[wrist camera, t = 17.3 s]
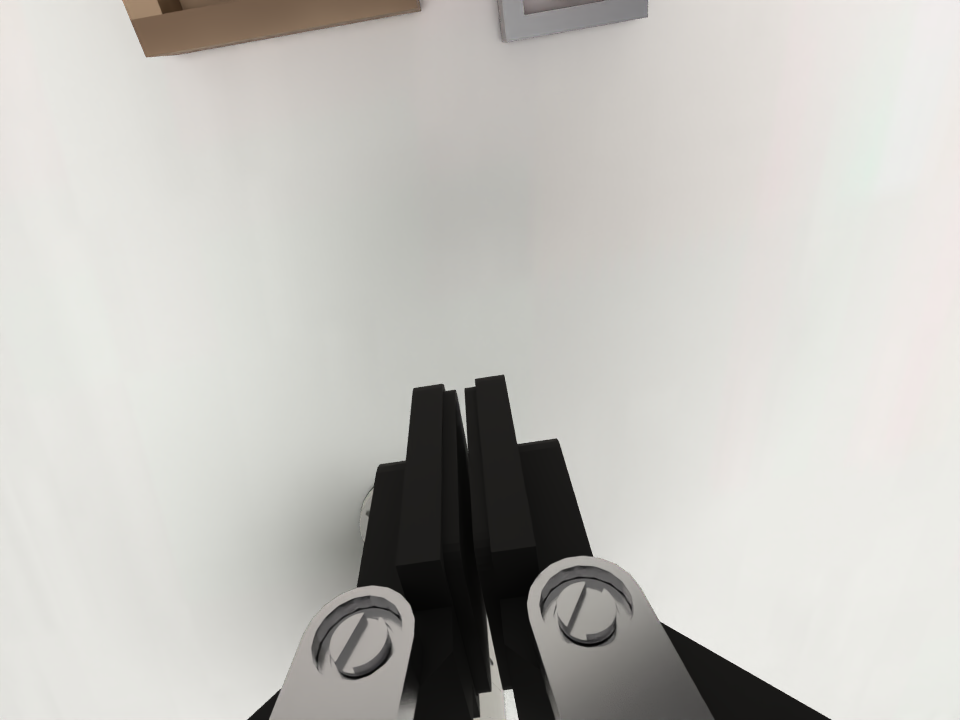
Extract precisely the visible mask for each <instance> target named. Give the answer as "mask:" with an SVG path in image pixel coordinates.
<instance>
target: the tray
mask: <svg viewBox="0 0 960 720" xmlns="http://www.w3.org/2000/svg"><path fill="white" fill-rule="evenodd" d="M122 1H123V3H124V6H125V8H126V10H127V13H128V15H129V18H130V20H131V22H132V25H133V27H134V30H135V32H136V34H137V37H138V39H139V42H140V44H141V46H142V49H143V51H144V54H145V56H146V57H156V56H169V55H180V54H185V53H191V52H196V51H202V50H207V49H213V48H218V47H224V46H229V45H235V44H241V43H246V42H252V41H257V40H263V39H268V38H274V37H279V36H285V35H290V34H296V33H301V32H307V31H313V30H318V29H324V28H329V27H335V26H340V25H346V24H351V23H357V22H362V21H368V20H373V19H379V18H385V17H390V16H396V15H401V14H407V13H412V12H418V11H421V9H420V3H419V0H122Z"/></svg>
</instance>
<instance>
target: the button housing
mask: <svg viewBox="0 0 960 720" xmlns="http://www.w3.org/2000/svg"><path fill="white" fill-rule="evenodd" d="M498 8H499V17H500V26H501V35H502V42H511V41H517V40H522V39H528V38H534V37H539V36H545V35H550V34H556V33H562V32H567V31H573V30H579V29H584V28H590V27H595V26H601V25H607V24H612V23H618V22H624V21H629V20H635V19H640V18H646V17H648V0H605V1H600V2H594V3H589V4H583V5H577V6H572V7H566V8H561V9H555V10H549V11H544V12H538V13H533V14H527V15H524V4H523V0H498Z"/></svg>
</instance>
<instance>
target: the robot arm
mask: <svg viewBox="0 0 960 720" xmlns="http://www.w3.org/2000/svg"><path fill="white" fill-rule="evenodd" d="M475 385H476V387H470V388H465V405H466V422H467V440H468V449H467V444H466V439H465V434H464V428H463V423H462V418H461V413H460V407H459V402H458V397H457V393H456V390H450V391H445V387H444V385H443V384H438V385H431V386H424V387H418V388H414V389H413V395H412V405H411V415H410V425H409V435H408V445H407V455H406V461H400V462H393V463H386V464H380V465H379V466H378V469H377V472H376V477H375V483H374V488H373V489H372V490H371V491H370V492H369V494H368V495H367V497H366V499H365V500H364V503H363V506H362V509H361V514H360V521H359V525H360V533H361V536H362V538H363V541H364V548H363V554H362V560H361V566H360V572H359V578H358V584H357V588H355V589H353V590H350V591H348V592H345V593H343V594H340V595H339V596H337V597H336V598H334V599H333V600H332V601H330V602H329V603H327V604H326V605H324V607H323V608H322V609H321V610H320V611H319V612H318V613H317V614H316V615H315V616H314V617H313V618H312V620H311V622H310V623H309V625H308V627H307V629H306V630H305V632H304V634H303V636H302V638H301V641H300V643H299V646H298V648H297V651H296V653H295V656H294V658H293V661H292V663H291V666H290V668H289V671H288V673H287V676H286V678H285V681H284V683H283V686H282V688H281V689H280V690H279V691H278V692H277V693H276V694H275V695H274V696H272V697H271V698H270V699H269V700H268V701H267V702H266V703H265V704H264V705H263V706H262V707H261V708H259V709H258V710H257V711H256V712H255V713H254V714H253V715H252V716H251V717H250V718H249V719H248V720H506V708H505V698H504V690H509V689H513V692H514V698H515V703H516V708H517V713H518V718H519V720H831V719H829V718H827V717H826V716H824V715H822V714H820V713H819V712H817V711H815V710H813V709H812V708H810V707H808V706H806V705H805V704H803V703H801V702H799V701H798V700H796V699H794V698H792V697H791V696H789V695H787V694H785V693H784V692H782V691H780V690H778V689H777V688H775V687H773V686H771V685H770V684H768V683H766V682H765V681H763V680H761V679H759V678H758V677H756V676H754V675H752V674H751V673H749V672H747V671H745V670H744V669H742V668H740V667H738V666H737V665H735V664H733V663H731V662H730V661H728V660H726V659H724V658H723V657H721V656H719V655H717V654H716V653H714V652H712V651H710V650H709V649H707V648H705V647H703V646H702V645H700V644H698V643H696V642H695V641H693V640H691V639H689V638H688V637H686V636H684V635H682V634H681V633H679V632H677V631H675V630H674V629H672V628H670V627H668V626H667V625H665V624H663V623H661V622H660V621H659V619H658V618H657V616H656V614H655V612H654V611H653V609H652V607H651V605H650V603H649V602H648V600H647V598H646V596H645V594H644V593H643V591H642V589H641V587H640V586H639V585H638V584H637V582H636V581H635V580H634V579H633V577H632V576H631V575H630V574H629V573H628V572H626V571H625V570H624V569H622V568H621V567H619V566H618V565H617V564H614V563H612V562H609V561H607V560H604V559H601V558H597V557H593V554H592V551H591V548H590V544H589V541H588V538H587V534H586V531H585V528H584V524H583V521H582V518H581V514H580V511H579V507H578V504H577V501H576V497H575V494H574V491H573V487H572V484H571V481H570V477H569V474H568V471H567V467H566V464H565V460H564V457H563V454H562V450H561V447H560V444H559V441H558V440H557V439H550V440H543V441H536V442H529V443H523V444H517V441H516V436H515V430H514V425H513V420H512V414H511V409H510V403H509V398H508V393H507V387H506V382H505V377H504V375H498V376H492V377H485V378H478V379H475Z"/></svg>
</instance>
